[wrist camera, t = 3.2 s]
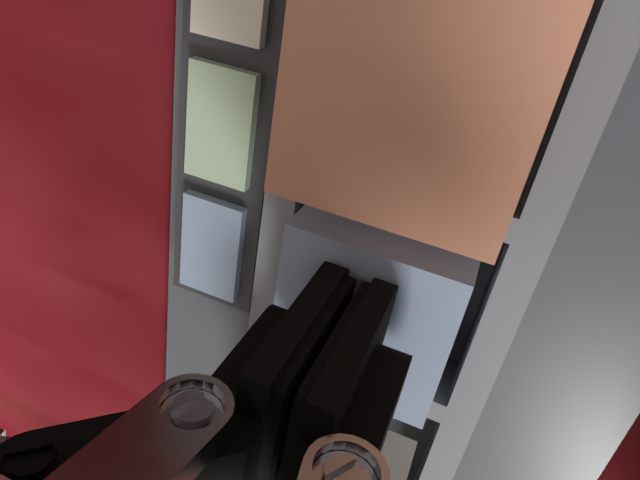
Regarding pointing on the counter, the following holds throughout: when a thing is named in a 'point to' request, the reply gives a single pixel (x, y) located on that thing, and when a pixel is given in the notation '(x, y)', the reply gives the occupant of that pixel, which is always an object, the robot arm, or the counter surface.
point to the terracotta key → (418, 111)
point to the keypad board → (492, 280)
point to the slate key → (394, 267)
